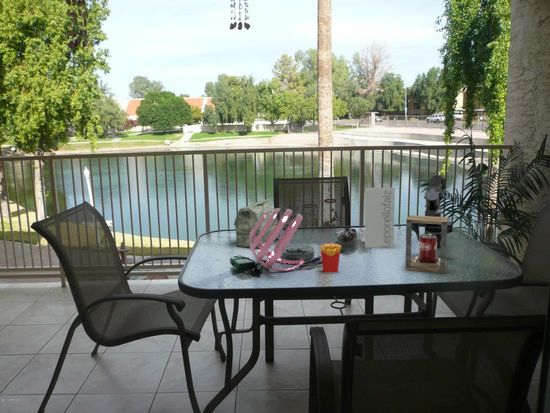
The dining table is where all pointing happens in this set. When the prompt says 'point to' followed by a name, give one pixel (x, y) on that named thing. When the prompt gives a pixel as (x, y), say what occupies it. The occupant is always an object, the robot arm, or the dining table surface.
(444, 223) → the wooden open frame
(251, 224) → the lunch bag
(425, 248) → the soda can
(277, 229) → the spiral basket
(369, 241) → the white box
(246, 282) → the dining table surface
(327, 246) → the french fries
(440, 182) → the robot arm
